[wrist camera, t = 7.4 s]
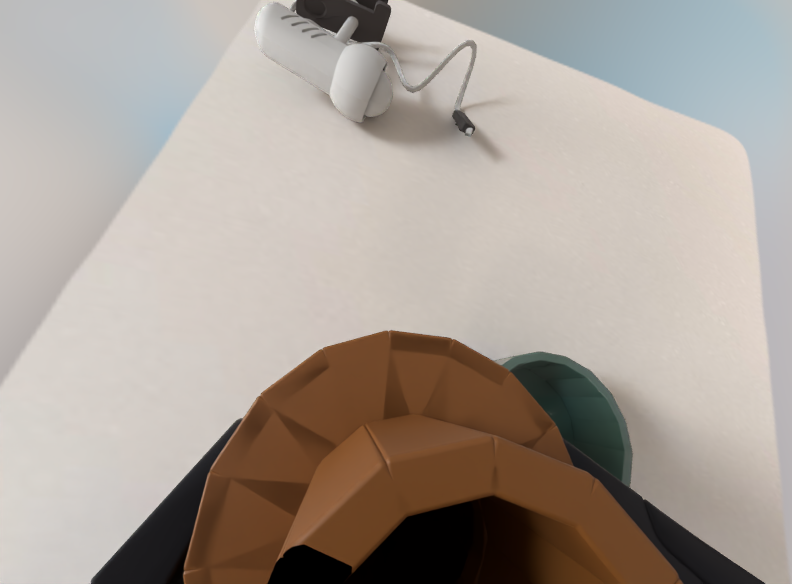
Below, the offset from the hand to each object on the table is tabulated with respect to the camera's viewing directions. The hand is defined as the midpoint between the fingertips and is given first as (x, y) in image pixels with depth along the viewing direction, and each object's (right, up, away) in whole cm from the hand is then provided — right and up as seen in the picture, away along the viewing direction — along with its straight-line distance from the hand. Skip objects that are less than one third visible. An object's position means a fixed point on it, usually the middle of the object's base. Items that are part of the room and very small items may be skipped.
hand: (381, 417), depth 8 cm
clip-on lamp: (-1, +21, +20) cm, 29 cm away
